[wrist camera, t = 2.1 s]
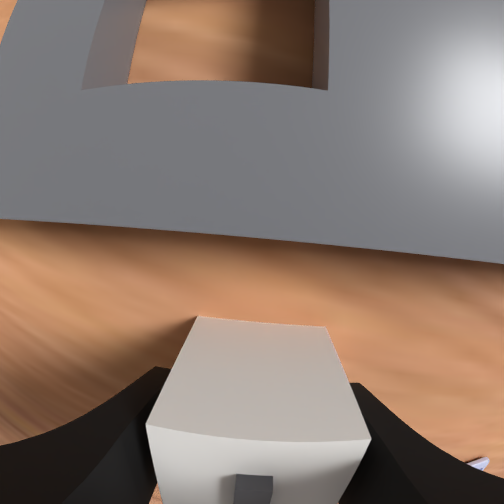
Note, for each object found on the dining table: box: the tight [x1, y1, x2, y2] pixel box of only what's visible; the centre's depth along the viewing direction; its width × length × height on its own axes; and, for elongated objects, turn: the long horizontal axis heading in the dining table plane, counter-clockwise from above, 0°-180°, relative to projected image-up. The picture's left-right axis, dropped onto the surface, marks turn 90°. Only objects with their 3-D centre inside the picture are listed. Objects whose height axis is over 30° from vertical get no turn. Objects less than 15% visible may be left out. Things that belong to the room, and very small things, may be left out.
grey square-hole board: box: [0, 0, 504, 264], centre depth 6 cm, size 12×22×3 cm, turn 85°
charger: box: [146, 316, 371, 504], centre depth 7 cm, size 4×4×5 cm
